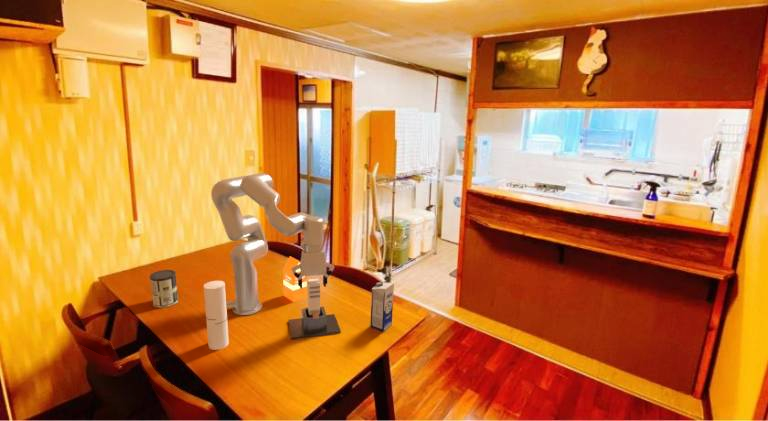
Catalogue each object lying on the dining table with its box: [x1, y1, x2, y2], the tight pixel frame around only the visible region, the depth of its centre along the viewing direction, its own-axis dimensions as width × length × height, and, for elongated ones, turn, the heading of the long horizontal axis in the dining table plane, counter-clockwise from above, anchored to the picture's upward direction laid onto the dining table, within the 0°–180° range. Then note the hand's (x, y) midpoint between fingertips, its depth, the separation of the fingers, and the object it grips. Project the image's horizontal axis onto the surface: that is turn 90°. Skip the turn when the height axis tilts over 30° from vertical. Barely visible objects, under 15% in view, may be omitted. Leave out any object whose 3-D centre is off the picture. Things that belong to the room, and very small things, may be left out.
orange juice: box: [282, 255, 308, 303], centre depth 184 cm, size 8×9×20 cm
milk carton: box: [369, 281, 395, 333], centre depth 161 cm, size 7×7×20 cm
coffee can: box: [149, 269, 179, 309], centre depth 173 cm, size 10×10×14 cm
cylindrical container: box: [203, 280, 230, 351], centre depth 143 cm, size 7×7×25 cm
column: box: [307, 278, 321, 315], centre depth 156 cm, size 4×5×14 cm
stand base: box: [288, 306, 342, 341], centre depth 159 cm, size 20×14×9 cm
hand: (312, 286), depth 156 cm, fingers open, 9 cm apart
